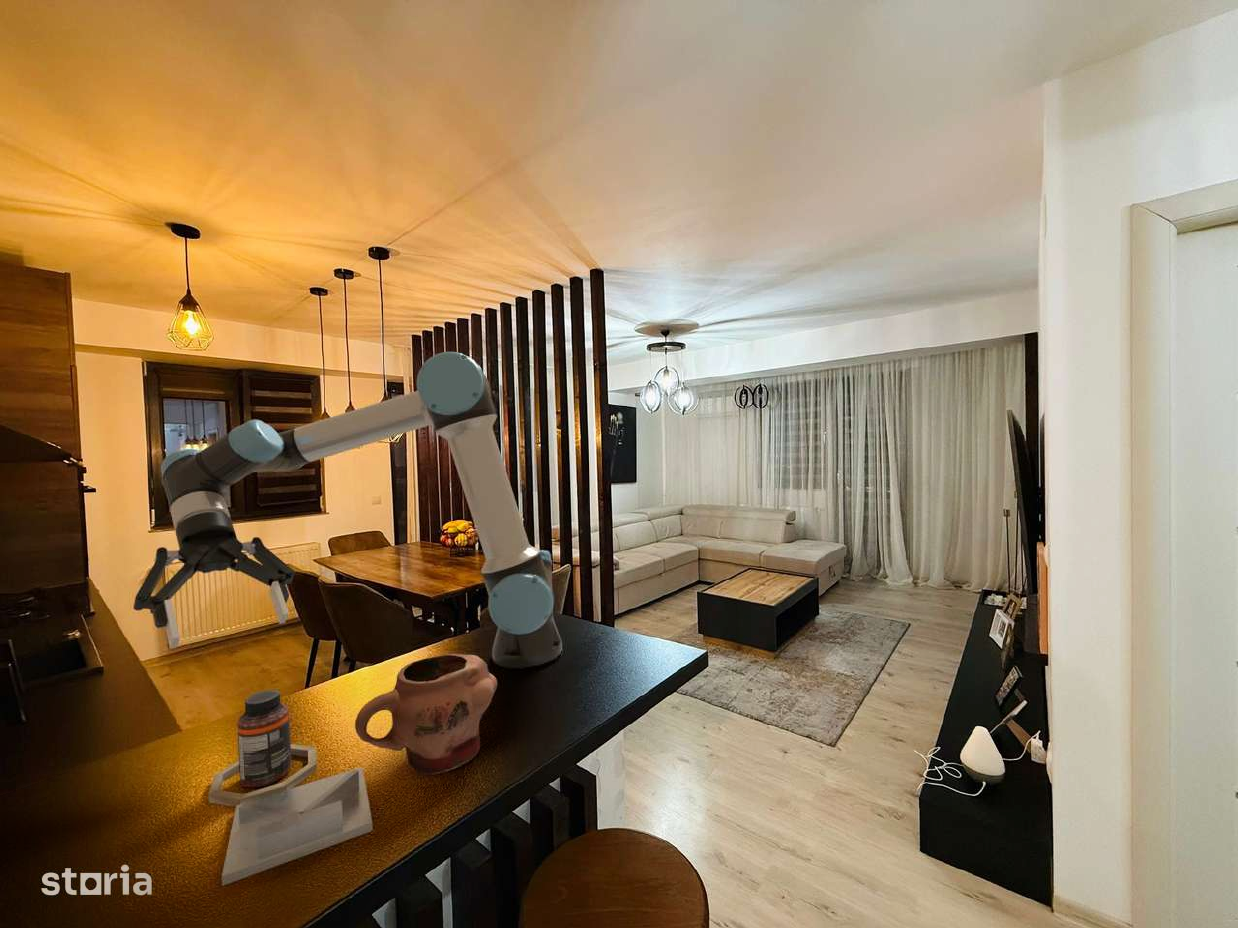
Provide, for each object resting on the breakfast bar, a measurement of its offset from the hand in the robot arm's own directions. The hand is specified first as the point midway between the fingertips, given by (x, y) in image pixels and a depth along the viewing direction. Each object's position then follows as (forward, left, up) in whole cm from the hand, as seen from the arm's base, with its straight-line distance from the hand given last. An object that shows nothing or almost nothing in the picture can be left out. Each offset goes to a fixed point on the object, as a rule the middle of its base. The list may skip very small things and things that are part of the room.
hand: (233, 630), depth 77 cm
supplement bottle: (-4, +10, -19) cm, 22 cm away
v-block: (-9, +23, -18) cm, 31 cm away
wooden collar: (-4, +10, -19) cm, 22 cm away
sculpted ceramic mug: (-24, +20, -19) cm, 37 cm away
